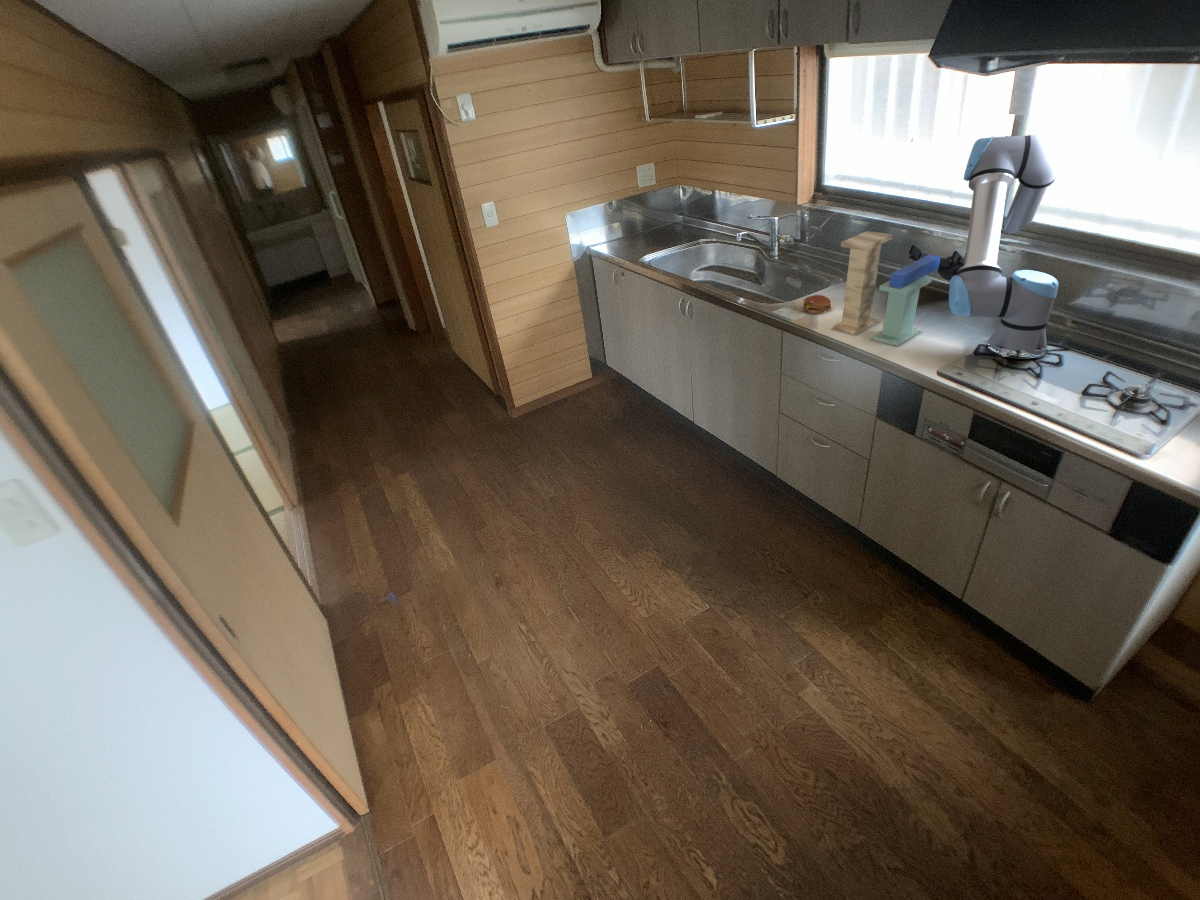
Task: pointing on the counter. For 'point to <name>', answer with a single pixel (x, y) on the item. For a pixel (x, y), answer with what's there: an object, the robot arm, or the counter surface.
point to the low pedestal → (900, 312)
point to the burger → (817, 304)
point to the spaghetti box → (914, 271)
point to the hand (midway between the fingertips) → (931, 252)
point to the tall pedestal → (861, 281)
